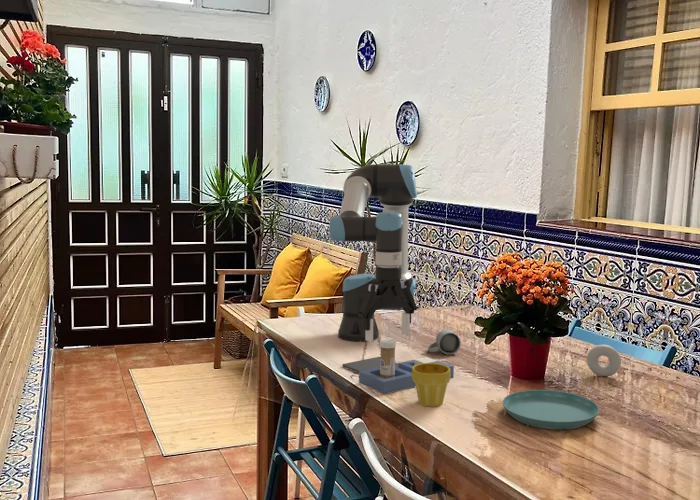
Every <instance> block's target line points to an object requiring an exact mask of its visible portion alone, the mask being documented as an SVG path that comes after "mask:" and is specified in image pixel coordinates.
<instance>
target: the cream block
mask: <svg viewBox="0 0 700 500" xmlns="http://www.w3.org/2000/svg"><path fill="white" fill-rule="evenodd" d="M428 357H429V356H426V357H420V358H416V359H413V360H414V366H415V365H417V364H422V363H437V360H438V359H435V360H434V358H432V357H429V358H428ZM431 358H432V359H431Z"/></svg>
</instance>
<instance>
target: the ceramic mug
mask: <svg viewBox="0 0 700 500" xmlns="http://www.w3.org/2000/svg"><path fill="white" fill-rule="evenodd" d="M461 342H462V341H461V339H460V337H459V335H458V334H456V332H454V331H453V330H450V329H443V330H440V331H438V333H437V334H436V338H435V342H433V343H431V344H429V345H428V346H427V350H428V352H429V353H435V352H439V351H440V352H441V353H443V354H444V355H449V356H451V355H454V354H456V353H457V352H458V351H459V350H460V348H461Z"/></svg>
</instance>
